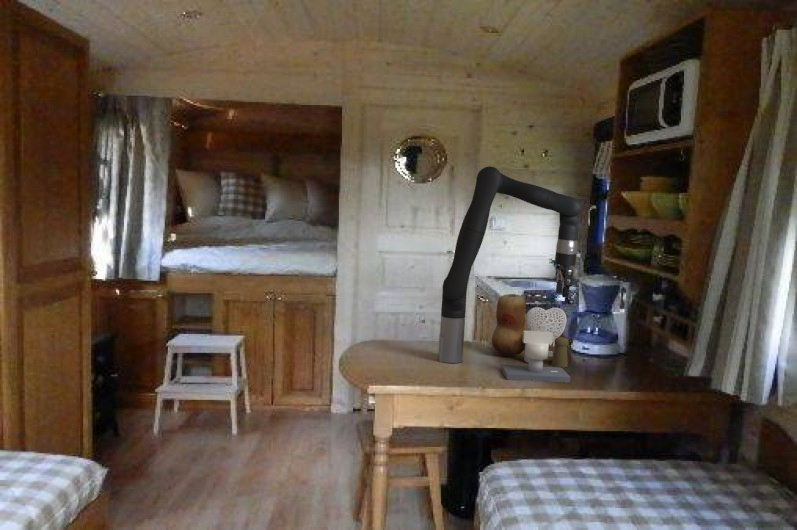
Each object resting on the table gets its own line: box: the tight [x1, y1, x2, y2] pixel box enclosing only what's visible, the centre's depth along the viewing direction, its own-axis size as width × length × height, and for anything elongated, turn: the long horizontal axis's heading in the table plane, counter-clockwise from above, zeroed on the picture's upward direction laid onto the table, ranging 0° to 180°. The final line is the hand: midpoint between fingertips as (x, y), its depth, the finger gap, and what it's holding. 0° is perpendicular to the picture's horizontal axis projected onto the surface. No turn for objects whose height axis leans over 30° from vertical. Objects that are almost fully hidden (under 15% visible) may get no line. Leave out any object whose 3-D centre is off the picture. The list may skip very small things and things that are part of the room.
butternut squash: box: [491, 293, 527, 357], centre depth 245 cm, size 14×13×25 cm
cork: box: [551, 336, 570, 369], centre depth 235 cm, size 6×6×11 cm
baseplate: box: [501, 358, 571, 384], centre depth 219 cm, size 22×12×7 cm, turn 90°
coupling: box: [523, 330, 554, 361], centre depth 219 cm, size 11×8×9 cm
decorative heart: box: [525, 306, 568, 347], centre depth 265 cm, size 18×11×17 cm, turn 98°
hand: (561, 295), depth 228 cm, fingers open, 8 cm apart
